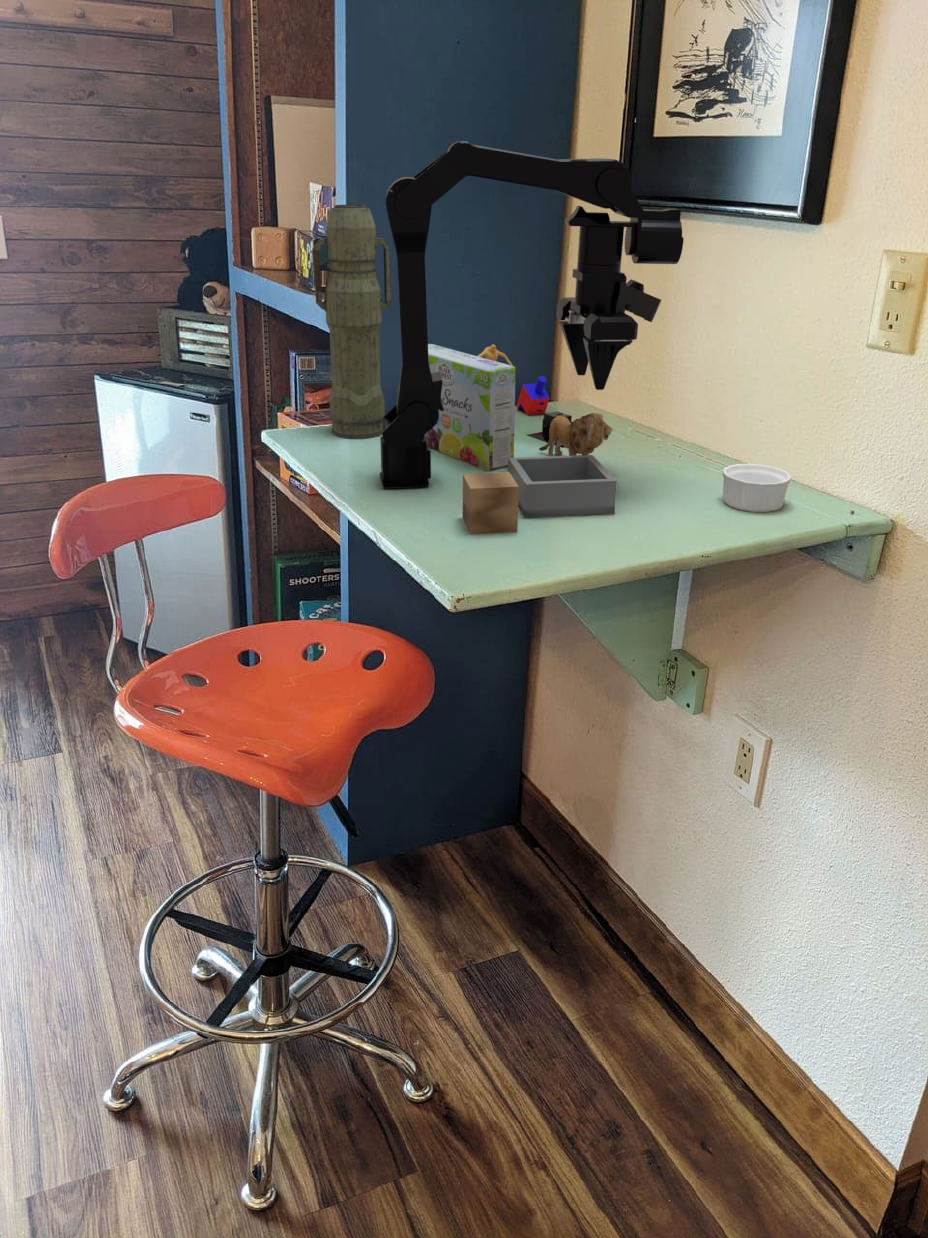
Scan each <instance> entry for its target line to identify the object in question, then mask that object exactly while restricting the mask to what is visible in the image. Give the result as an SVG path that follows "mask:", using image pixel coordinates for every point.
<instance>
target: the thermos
mask: <svg viewBox="0 0 928 1238" xmlns="http://www.w3.org/2000/svg"><path fill="white" fill-rule="evenodd" d="M326 222H327V224H326V229H325V236H324V238H320V239H318V240H317V242H315V244H314V245H313V247H312V248H311V249H312V262H313V263H312V264H313V273H314V274H313V277H314V287H315V288H314V289H315V290H314V291H315V303H316V305H317V306H318V307H319V308H320V309H321V310H323V311H324V312H325V323H326V325H327V327H328V329H329V347H330V348H329V349H330V367H331V369H330V370H331V389H330V394H329V417H330V419H331V433H332V435H333V436H335V437H337V438H341V439H349V440H363V439H364V440H365V439H372V438H377V437H381V435H382V419H383V417H384V416H385V415H386V413H385V411H386V410H385V396H384V393H383V390H382V388H381V386H382V385H381V384H382V383H381V359H380V358H381V355H380V353H381V352H380V350H381V349H380V327H381V325H382V323H383V318H382V317H383V316H382V315H383V314H382V313H383V311H384V309H388V308H391V302H392V282H391V281H392V278H391V277H392V276H391V275H392V273H391V248H390V246H389V244H388V243H387V241H386V240H385V238H383V237H378V236H376V235H377V233H376V223H375V220H374V217H373V214H372V211H371V209H370V208H369V207H366V204H365V205H364V204H334V207H329V210H328V214H327V219H326ZM323 245H325V246H326V260H328V261H327V262H328V269H327V278H326V283H325V287H324V300H323V293H322V277H321V275H322V274H321V257H320V255H321V254H320V253H321V252H320V250H321V247H322V246H323ZM379 245H382V248H383V276H384V279H383V281H384V282H383V283H384V287H383V288H384V300H383V299H382V288H381V285H380V282H379V279H378V276H377V275H378V271H377V269H376V260H377V247H378V246H379Z"/></svg>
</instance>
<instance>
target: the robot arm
mask: <svg viewBox="0 0 928 1238" xmlns="http://www.w3.org/2000/svg"><path fill="white" fill-rule="evenodd" d="M466 177H476V178H482V179H488V180H493V181H499V182H505V183H510V184H516V185H517V184H518V185H521V186H522V185H523V186H529V187H535V188H540V189H546V190H552V191H556V192H557V193H560V194H564V195H566V196H569V197H572V198H574V199H577V200H579V201H581V202H584V203H587V204H590V205H592V206H595V207H598V208H602V209H607V210H608V209H609V210H610V211H612V212H614V214H616V215H620V216H623V217H626V218H630V219H629V220H630V221H629V220H627V221H624V220H623V221H622V220H610V214H609V213H608V212H600V211H599V212H597V211H596V212H593V211H591V212H589V211H588V212H587V211H586V209H584V207H583V206H582V205H577V206H576V207H575V209H574V210H573V212H572V213H571V214H570V215H569V216H567V217H566V218H565V219H564V224H566V225H568V226H570V227H579V235H578V246H577V247H578V249H577V251H578V253H577V264H576V265H577V266H576V268H573V269H572V278H573V279H576V281H575V292H574V294H575V295H574V297H570V296H569V297H567V296H566V297H565V296H564V297H562V299H560V300H559V301H558V303H556V315H555V318H557V319H558V320H559V321H558V324H559V326H560V329H561V331H562V333H563V337H564V340H565V343H566V345H567V349H568V352H569V354H570V357H571V360H572V363H573V366H574V368H575V372H576V375H577V376H586V373H587V369H588V366H589V369H590V373H591V377H592V381H593V386H594V389H595V390H597V391H603V390H604V389H605V387H606V385H607V382H608V379H609V376H610V374H611V371H612V368H613V366H614V363H615V360H616V358H617V356H618V353H619V352H620V351H622V350H623V349H624V348H626V347H627V346H630V345H631V344H632V343H633V341H634V340H637V338H638V330H639V329H638V328H639V323H638V322H637V321H636V320H635V319H634V318H633V317H632V315H628V314H627V313H626V311H627V312H629V313H630V314H631V313H632V314H633V315H634V316H637V317H640V318H642V319H643V320H645V321H648V322H649V323H653V320H654V318H655V317H656V313H657V312H658V309H659V306H660V304H661V302H662V299H660V298H658V297H656V296H653V295H651V294H648V293H646V292H645V287H644V286H645V285H644V283H641V282H639V281H638V280H634V279H629V280H628V279H627V275H626V273H624V272H622V271H621V268H622V256H623V255H622V254H623V245H624V253H625V255H626V256H631V261H632V263H633V264H635V265H636V264H638V265H639V264H641V265H643V264H645V265H676V264H678V263H679V261H680V260H681V256H682V252H683V247H684V237H683V226H682V220H681V216H682V211H681V209H679V208H678V209H677V208H664V209H644V208H643V207H642V205H641V203H640V202H639V200H638V199H637V197H636V195H635V193H634V191H633V190H632V185H633V181H632V176H631V172H630V170H629V169H628V167H627V165H626V164H625V163H623V162H622V161H620V160H618V159H613V158H605V157H604V158H602V157H601V158H599V157H598V158H597V157H596V158H565V159H564V158H563V159H561V158H560V159H557V158H551V157H546V156H541V155H540V156H539V155H535V154H529V153H528V154H527V153H524V152H523V153H522V152H516V151H512V150H511V151H510V150H507V149H506V150H505V149H500V148H493V147H489V146H483V145H476V144H474V143H472V142H469V141H467V140H460V141H459V140H458V141H456V142H453V143H452V144H451V145H450V146H449V147H448V149H447V150H446V151H445V152H443V154H441V155H440V156H439V157H437V158H436V159H435V160H433V161H432V162H431V163H430V164H428V165H427V166H426V167H424V168H423V169H422V170H420V171H419V172H418V173H417V174H416V175H415V176H412V177H411V176H404V177H399V178H398V179H396V180H394V181H393V183H392V184H391V185H390V186H389V188H388V189H387V192H386V199H385V207H386V212H387V217H388V222H389V227H390V231H391V236H392V240H393V241H392V242H393V245H394V249H395V253H396V258H397V259H396V261H397V277H398V278H397V279H398V280H397V282H398V299H399V301H398V302H399V304H398V305H399V317H400V319H399V320H400V322H399V323H400V340H401V341H400V344H401V365H400V372H399V373H400V374H399V379H398V386H397V387H398V388H397V396H396V403H395V404H394V405H393V407H392V408H390V409H389V410H388V411H387V413H385V416H384V417H383V419H382V436H379V437H380V438H379V440H380V442H379V443H380V470H381V471H380V472H379V478H380V482H381V485H382V488H383V489H407V488H408V489H411V488H427V487H428V488H429V486H430V481H429V480H431V479H432V453H431V449H430V447H428V446H427V441H426V438H425V433H426V432H428V431H430V430H431V429H432V428H433V427H434V426H435V425H436V424H437V421H438V417H439V410H440V411H444V408H443V403H442V398H441V391H442V377H441V373H440V372H436V373H431V371H430V366H429V360H428V344H429V342H428V340H429V338H428V335H429V334H428V315H427V314H428V312H427V311H428V309H427V288H426V287H427V286H426V285H427V283H426V282H427V281H426V259H425V258H426V257H425V256H426V250H427V243H428V237H429V229H430V222H431V215H432V214H431V213H432V207H433V206H432V205H433V204H435V203H436V202H437V201H439V200H440V199H441V198H442V197H443V196H445V194H447V193H448V192H450V190H452V189H453V188H454V187H455V186H456V185H457V184H458V183H460V182H461V181H462V180H464V178H466ZM624 233H625V234H624ZM624 235H625V236H624ZM627 280H628V281H627ZM438 409H439V410H438Z"/></svg>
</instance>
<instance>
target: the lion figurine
mask: <svg viewBox="0 0 928 1238" xmlns="http://www.w3.org/2000/svg"><path fill="white" fill-rule="evenodd" d="M572 422H573V423H570V421H569V419H568V418H566V417H563V416H558V417H556V418H554V419H553V420H552V422H551V425H550V429H549V437H550V439H549V441H548V443H547V442H546V443H545V445H543V446H540V447H539V448H538V449H539V451H541V452H543V451H546V450H547V449H548V451H547V452H548V453H547V456H554V454H555V456H563V451H562V450H561V445H563V446H564V447H565V448H566V449H568V456H573V455H578V454H579V455H591V454H592V453H593V452H595V449H596V448H599V446H601V445H602V444H603V442H604V441H608V439H609V436H610V435H611V434H612V432H613V427H611V426H609V424H607V422H605V420H604V417H603V414H601V413H599V412H591V413H588V414H586V415H583V416H581V417H580V418H576V419H574V420H573V421H572ZM557 437H559V438H558V440H557V442H556V439H557ZM555 442H556V445H555Z"/></svg>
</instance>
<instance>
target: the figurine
mask: <svg viewBox="0 0 928 1238" xmlns="http://www.w3.org/2000/svg"><path fill="white" fill-rule="evenodd" d="M477 356H478V357H481V358H484V357H485V359H489V360H492V361H496V362H497V360H498V358H499V357H502V358H504V359H505V361H506V362H507V364H508V365H511V366H514V365H513V363H512V361H511V360H509V358H508V356H507V355H506V353H504V352H502V351H499V350H498V349H497V346H496V345H495V344H494V343H493V344H491V345H490V346H487V347H485V348H484V349H483V351H482V352H481V353H480V354H478V355H477Z"/></svg>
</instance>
